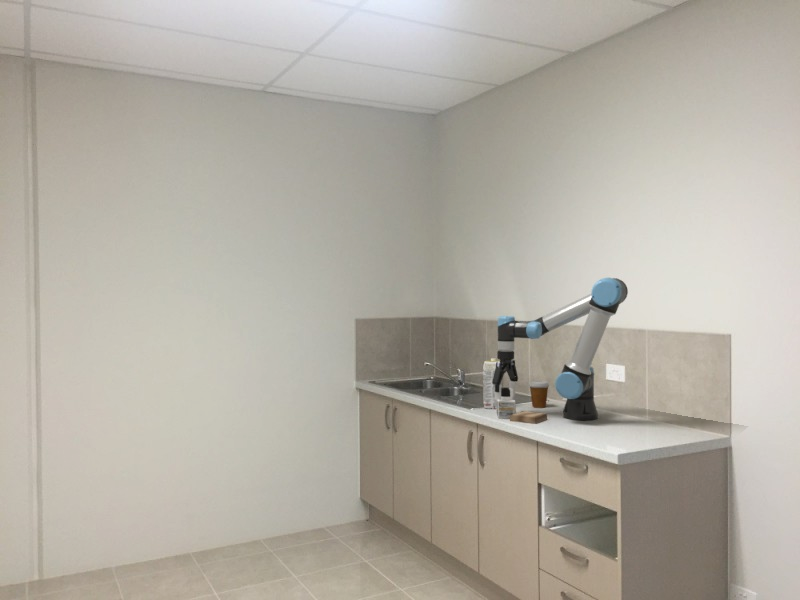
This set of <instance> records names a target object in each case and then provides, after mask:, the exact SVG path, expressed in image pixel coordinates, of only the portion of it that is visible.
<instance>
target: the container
mask: <svg viewBox="0 0 800 600" xmlns="http://www.w3.org/2000/svg"><path fill="white" fill-rule="evenodd" d="M516 406H517V402H516V400H515V398H514V396H513V389H512V388H509V387H503V388H501V400H497V409H496V416H497V418H498V419H510V415H512V414H515V413H517V411H516V410H517V409H516V408H517V407H516Z"/></svg>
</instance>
